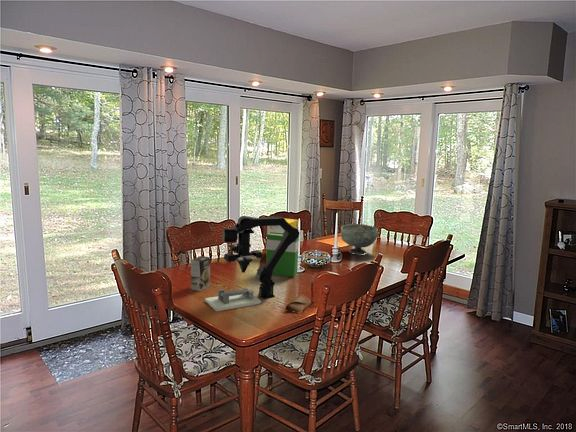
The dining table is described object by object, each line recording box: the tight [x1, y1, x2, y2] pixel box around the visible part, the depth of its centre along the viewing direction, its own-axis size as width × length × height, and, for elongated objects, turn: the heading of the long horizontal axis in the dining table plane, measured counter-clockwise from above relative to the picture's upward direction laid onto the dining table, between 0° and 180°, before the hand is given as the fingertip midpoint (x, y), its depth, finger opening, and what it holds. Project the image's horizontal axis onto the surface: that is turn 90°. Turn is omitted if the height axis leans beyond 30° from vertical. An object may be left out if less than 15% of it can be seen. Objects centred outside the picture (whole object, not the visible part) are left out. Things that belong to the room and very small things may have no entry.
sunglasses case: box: [285, 293, 312, 312], centre depth 205 cm, size 18×7×7 cm, turn 157°
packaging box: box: [266, 217, 299, 247], centre depth 292 cm, size 16×16×25 cm
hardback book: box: [265, 232, 300, 278], centre depth 252 cm, size 18×7×24 cm, turn 75°
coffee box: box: [190, 255, 211, 292], centre depth 223 cm, size 9×6×16 cm
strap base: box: [204, 287, 262, 312], centre depth 205 cm, size 23×14×6 cm, turn 122°
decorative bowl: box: [340, 223, 379, 254], centre depth 308 cm, size 26×26×20 cm
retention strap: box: [220, 287, 252, 297], centre depth 206 cm, size 15×5×1 cm, turn 122°
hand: (243, 272), depth 211 cm, fingers closed
